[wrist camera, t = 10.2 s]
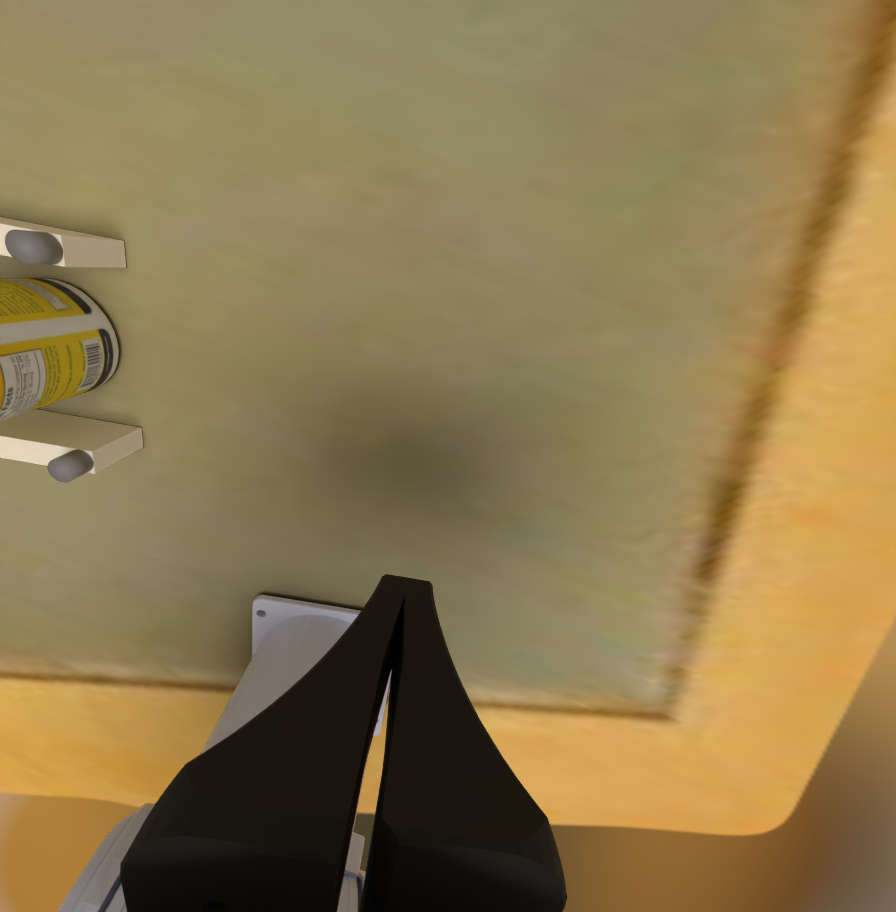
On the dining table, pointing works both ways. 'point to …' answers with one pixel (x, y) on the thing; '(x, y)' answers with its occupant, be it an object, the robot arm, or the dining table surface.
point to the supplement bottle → (50, 344)
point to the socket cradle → (48, 433)
